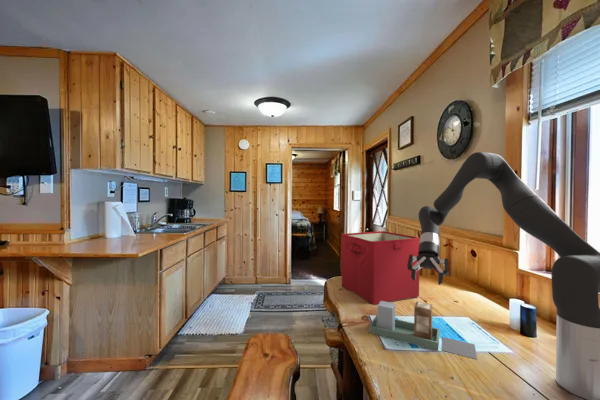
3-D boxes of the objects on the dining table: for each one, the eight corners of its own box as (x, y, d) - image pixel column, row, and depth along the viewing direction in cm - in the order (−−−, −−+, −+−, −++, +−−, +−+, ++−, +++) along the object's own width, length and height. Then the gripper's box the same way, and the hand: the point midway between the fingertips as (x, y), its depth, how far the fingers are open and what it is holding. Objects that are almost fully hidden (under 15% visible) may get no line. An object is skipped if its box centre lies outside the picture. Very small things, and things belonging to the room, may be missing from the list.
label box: (432, 337, 89) (432, 304, 89) (430, 345, 84) (431, 310, 84) (415, 333, 91) (416, 301, 91) (413, 340, 86) (414, 306, 86)
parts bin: (439, 337, 90) (439, 328, 90) (438, 352, 81) (438, 343, 81) (376, 322, 100) (376, 314, 100) (369, 333, 91) (369, 325, 91)
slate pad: (474, 346, 84) (474, 344, 84) (477, 361, 77) (477, 359, 77) (442, 338, 89) (442, 336, 89) (441, 352, 81) (441, 350, 81)
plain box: (394, 328, 95) (395, 303, 94) (392, 334, 90) (392, 308, 90) (380, 325, 97) (380, 300, 97) (377, 330, 93) (377, 305, 93)
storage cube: (369, 307, 114) (370, 240, 114) (337, 287, 140) (337, 232, 140) (424, 297, 126) (425, 237, 126) (386, 280, 152) (386, 230, 152)
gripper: (409, 238, 109) (405, 273, 99) (449, 242, 102) (448, 279, 92) (411, 249, 114) (406, 283, 104) (449, 253, 107) (448, 290, 97)
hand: (426, 281), depth 98 cm, fingers open, 8 cm apart
